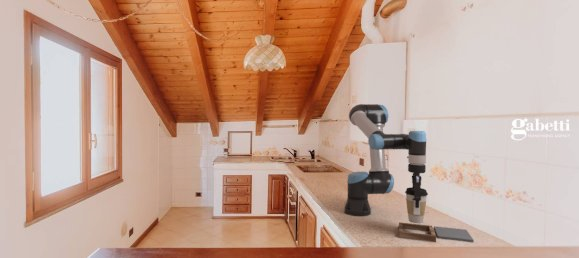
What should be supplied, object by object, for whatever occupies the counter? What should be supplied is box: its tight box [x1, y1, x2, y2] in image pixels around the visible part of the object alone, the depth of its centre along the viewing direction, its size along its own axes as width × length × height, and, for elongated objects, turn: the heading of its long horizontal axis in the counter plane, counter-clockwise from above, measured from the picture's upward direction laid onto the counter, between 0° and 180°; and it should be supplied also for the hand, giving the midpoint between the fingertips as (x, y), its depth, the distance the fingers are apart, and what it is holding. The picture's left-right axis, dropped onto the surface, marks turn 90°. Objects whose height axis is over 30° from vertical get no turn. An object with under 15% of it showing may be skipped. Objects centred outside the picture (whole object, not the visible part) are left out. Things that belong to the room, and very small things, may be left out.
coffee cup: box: [404, 186, 429, 224], centre depth 141 cm, size 10×10×15 cm
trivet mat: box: [433, 226, 474, 243], centre depth 140 cm, size 14×14×1 cm
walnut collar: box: [398, 222, 437, 243], centre depth 141 cm, size 15×15×2 cm
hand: (415, 211), depth 141 cm, fingers closed on coffee cup, 10 cm apart
